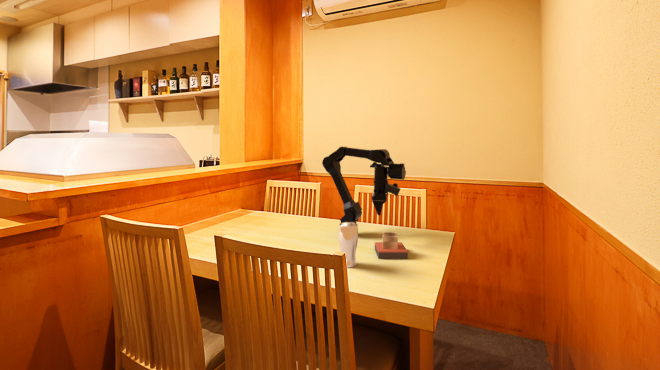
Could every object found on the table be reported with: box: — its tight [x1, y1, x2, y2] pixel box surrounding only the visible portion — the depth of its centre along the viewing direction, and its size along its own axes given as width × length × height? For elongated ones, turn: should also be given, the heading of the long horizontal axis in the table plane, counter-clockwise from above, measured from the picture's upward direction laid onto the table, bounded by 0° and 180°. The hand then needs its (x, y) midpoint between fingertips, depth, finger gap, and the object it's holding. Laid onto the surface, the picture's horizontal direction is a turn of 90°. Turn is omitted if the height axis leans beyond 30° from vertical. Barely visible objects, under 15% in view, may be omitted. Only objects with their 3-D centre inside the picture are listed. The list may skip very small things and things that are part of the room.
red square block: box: [374, 241, 409, 260], centre depth 130 cm, size 11×11×4 cm
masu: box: [382, 231, 399, 249], centre depth 130 cm, size 6×6×5 cm
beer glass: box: [338, 222, 359, 268], centre depth 118 cm, size 7×7×15 cm
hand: (379, 212), depth 147 cm, fingers open, 9 cm apart
